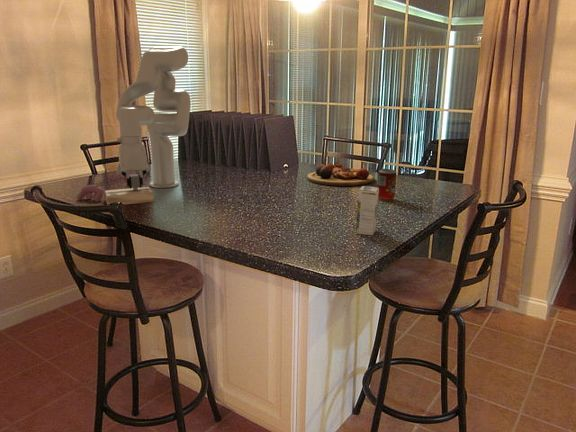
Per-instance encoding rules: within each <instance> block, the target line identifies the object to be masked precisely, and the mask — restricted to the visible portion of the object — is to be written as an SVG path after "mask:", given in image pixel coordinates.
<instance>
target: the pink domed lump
mask: <svg viewBox="0 0 576 432" xmlns="http://www.w3.org/2000/svg"><path fill="white" fill-rule="evenodd" d="M85 196H86V197H85ZM103 196H105V189H104V188H103V187H101V186H99V185H95V184H90V185H84V186H83V187H82V188H81V190H80V192H79V193H77V197H76V198H77V200H78V201H82V200H83V199H84V198H86V199H87V200H92V199H93V200H94V201H95V203H98V202H100V201H101V200H102V198H103Z"/></svg>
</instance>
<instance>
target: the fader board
mask: <svg viewBox="0 0 576 432" xmlns="http://www.w3.org/2000/svg"><path fill="white" fill-rule="evenodd" d="M104 190H105V189H104ZM104 196H105V203H106V205H107V204H110V203H113V202H122V204H123V205H131V204H133V205H134V204H142V203H143V204H144V203H152V202H153V203H154V202H155V200H154V199H155V197H154V190H152V189H151V186H143V187H142V186H141V188H140V187H138V190H133V187H132V188H131V189H130V188H129V187H128V188H118V189H107V190H105V193H104Z"/></svg>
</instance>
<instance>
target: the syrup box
mask: <svg viewBox="0 0 576 432" xmlns="http://www.w3.org/2000/svg"><path fill="white" fill-rule="evenodd" d="M378 193H379V188H378V187H376V186H375V187H374V186H368V185H367V186H365V185H363V186H362V185H361V187H360V188H359V189H358V197H357V210H356V225H355V235H357V234H358V235H366V236H367V235H368V236H374V234H375V232H376V229H377V228H376V227H377V216H378V215H377V214H378V206H379V205H378V204H379V198H378Z"/></svg>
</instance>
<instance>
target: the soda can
mask: <svg viewBox="0 0 576 432" xmlns="http://www.w3.org/2000/svg"><path fill="white" fill-rule="evenodd" d="M397 174H398V173H397V171H396V170H395V169H392V168H381V169H380V170H378V175H377V176H378V178H377V188H379V193H378V201H380V202H392V201H393V199H394V198H395V195H396V184H397Z"/></svg>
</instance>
